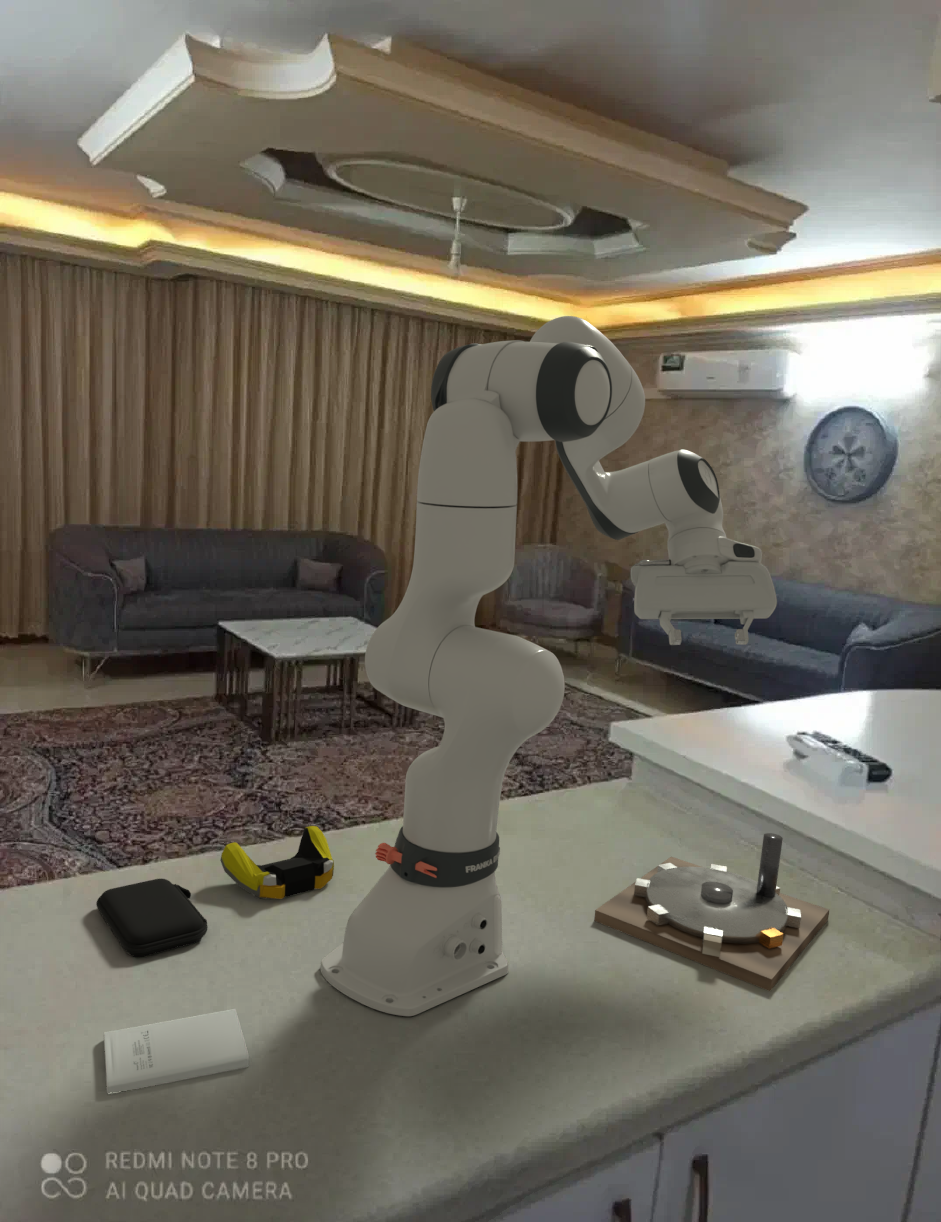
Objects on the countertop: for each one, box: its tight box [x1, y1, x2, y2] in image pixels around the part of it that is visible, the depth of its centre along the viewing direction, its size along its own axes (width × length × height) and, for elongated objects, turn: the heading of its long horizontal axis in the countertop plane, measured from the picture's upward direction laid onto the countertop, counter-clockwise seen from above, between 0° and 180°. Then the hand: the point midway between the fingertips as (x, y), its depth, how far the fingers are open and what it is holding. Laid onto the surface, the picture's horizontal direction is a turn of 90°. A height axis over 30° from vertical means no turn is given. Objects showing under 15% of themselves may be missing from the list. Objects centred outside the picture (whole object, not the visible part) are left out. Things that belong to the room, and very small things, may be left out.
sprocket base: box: [593, 856, 830, 992], centre depth 120 cm, size 23×23×3 cm
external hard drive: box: [103, 1008, 250, 1094], centre depth 87 cm, size 2×8×12 cm
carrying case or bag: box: [96, 878, 209, 958], centre depth 109 cm, size 11×3×15 cm
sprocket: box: [634, 832, 801, 949], centre depth 119 cm, size 20×20×10 cm
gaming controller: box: [220, 825, 335, 900], centre depth 122 cm, size 15×6×10 cm
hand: (709, 643), depth 130 cm, fingers open, 8 cm apart
